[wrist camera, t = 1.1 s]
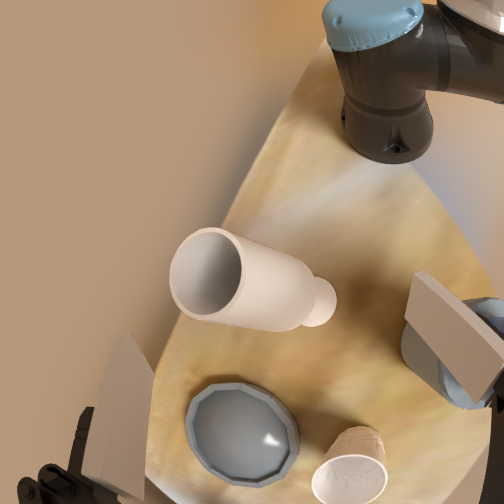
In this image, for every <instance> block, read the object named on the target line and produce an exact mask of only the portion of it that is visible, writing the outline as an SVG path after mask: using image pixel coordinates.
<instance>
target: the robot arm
mask: <svg viewBox="0 0 504 504" xmlns="http://www.w3.org/2000/svg"><path fill="white" fill-rule="evenodd" d="M322 20H323V23H324V27H325V31H326V34H327V42H328V44H329V45H330V47H331V49H332V52H333V55H334V58H335V61H336V64H337V67H338V70H339V73H340V77H341V80H342V84H343V87H344V91H345V96H344V102H343V107H342V112H341V123H342V127H343V131H344V134H345V137H346V139H347V141H348V142H349V144H350V145H351V146H352V147H353V148H354V149H355V150H356V151H357V152H358V153H360V154H361V155H363V156H365V157H367V158H369V159H371V160H374V161H377V162H380V163H386V164H402V163H407V162H410V161H413V160H415V159H417V158H419V157H420V156H422V155H423V154H424V153H425V152H426V151H427V149H428V148H429V146H430V144H431V141H432V135H433V120H432V117H431V114H430V111H429V107H428V104H427V102H426V99H425V90H432V91H433V90H434V91H442V92H448V93H455V94H460V95H466V96H471V97H476V98H481V99H485V100H489V101H493V102H495V103H497V104H504V0H437V5H431V4H423V3H422V2H421V1H420V0H330V1H329V2H328V3H327V4H326V5H325V7H324V9H323V12H322ZM404 318H405V319H406V320H407V321H408V322H409V324H410V325H411V326H412V327H413V328H414V329H415V330H416V332H417V333H418V334H419V335H420V336H421V337H422V338H423V340H424V341H425V342H426V343H427V344H428V346H429V347H430V348H431V349H432V350H433V351H434V353H435V354H436V355H437V356H438V357H439V359H440V360H441V361H442V362H443V364H444V365H445V366H446V367H447V369H448V370H449V371H450V372H451V374H452V375H453V376H454V377H455V379H456V380H457V381H458V383H459V384H460V385H461V386H462V388H463V389H464V390H465V392H466V393H467V394H468V396H469V397H470V398H471V400H472V401H473V402H474V404H475V405H476V404H477V403H478V402H479V401H481V400H482V399H483V398H484V397H486V395H487V394H488V393H489V391H490V390H491V388H493V389H494V391H493V393H492V394H491V395H490V397H489V398H488V399H487V401H486V402H485V405H484V407H487V405H488V404H489V403H490V402H491V400H492V402H491V403H490V405H489V407H492V419H491V436H490V447H489V455H488V462H487V468H486V474H485V479H484V484H483V489H482V493H481V497H480V501H479V504H504V334H503V333H502V332H501V331H500V330H498V328H497V327H496V326H495V325H492V323H491V322H490V321H489V320H488V319H487V318H486V317H484V316H483V315H481V314H479V313H477V312H476V313H474V312H473V311H472V310H471V309H470V308H469V307H467V306H466V305H465V304H464V303H463V302H462V301H461V300H460V299H458V298H457V297H456V296H455V295H454V294H453V293H451V292H450V291H449V290H448V289H447V288H445V287H444V286H443V285H442V284H441V283H439V282H438V281H437V280H436V279H435V278H433V277H432V276H431V275H430V274H428V273H427V272H426V271H425V270H423V271H420V272H416V273H413V277H412V283H411V288H410V293H409V298H408V303H407V307H406V311H405V316H404ZM153 381H154V373H153V371H152V370H151V368H150V366H149V365H148V363H147V361H146V359H145V357H144V355H143V354H142V352H141V350H140V348H139V346H138V344H137V342H136V340H135V338H134V336H133V334H123V335H117V337H116V339H115V342H114V345H113V348H112V352H111V354H110V358H109V361H108V363H107V367H106V370H105V373H104V377H103V380H102V383H101V387H100V390H99V394H98V398H97V401H96V405H95V407H86V408H85V410H84V411H83V413H82V414H81V416H80V418H79V421H78V425H77V430H76V433H75V439H74V441H73V446H72V450H71V455H70V460H69V465H68V469H67V471H65V470H63V469H62V468H61V467H59V466H58V465H56V464H51V463H50V464H47V465H44V466H43V467H42V468H41V469H40V471H39V473H38V482H36V481H35V480H33V479H32V478H30V477H24V478H22V479H21V480H20V481H19V483H18V486H17V493H18V499H19V504H121V503H120V502H119V501H118V500H117V496H118V495H120V496H122V497H124V498H126V499H134V500H142V501H143V500H144V477H145V459H146V444H147V433H148V422H149V413H150V404H151V396H152V388H153Z"/></svg>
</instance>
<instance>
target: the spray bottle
mask: <svg viewBox="0 0 504 504" xmlns="http://www.w3.org/2000/svg"><path fill="white" fill-rule="evenodd" d="M462 302H463V303H464V304H465V305H466V306H467V307H469V308H470V309H471V310H472V311H473V312H474V313H476V312H477V313H479V314H481V315H483V316H484V317H486V318H487V319H488V320H489V321H490V322H491V323H492V325H495V326H496V327H497V328H498V330H500V331H501V332H502V333H503V334H504V300H500V299H499V298H491V297H483V298H477V299H470V300H463V301H462ZM401 353H402V357H403V359H404V361H405V363H406V365H407V366H408V367H409V368H410V369H411V370H412V371H413V372H414V373H415V374H417V375H418V376H419V377H420V378H421V379H422V380H424V381H425V382H426V383H427V384H428V385H430V386H431V387H432V388H433V389H434V390H435V391H437V392H438V393H439V394H440V395H441V396H442V397H444V398H445V399H446V400H447V401H448V402H449V403H451V404H452V405H454V406H457V407H460V408H462V409H468V410H472V409H481V408H484V405H485V402H486V401H487V399H488V398H489V397H490V395H491V394H492V393H493V391H494V389H493V388H491V390H490V391H489V393H488V394H487V395H486V397H484V398H483V399H482V400H481V401H479V402H478V403H477V404H476V405H475V404H474V402H473V401H472V400H471V398H470V397H469V396H468V394H467V393H466V392H465V390H464V389H463V388H462V386H461V385H460V384H459V383H458V381H457V380H456V379H455V377H454V376H453V375H452V374H451V372H450V371H449V370H448V369H447V367H446V366H445V365H444V364H443V362H442V361H441V360H440V359H439V357H438V356H437V355H436V354H435V353H434V351H433V350H432V349H431V348H430V347H429V346H428V344H427V343H426V342H425V341H424V340H423V338H422V337H421V336H420V335H419V334H418V333H417V332H416V330H415V329H414V328H413V327H412V326H411V325H410V324H409V322H407V324H406V326H405V328H404V330H403V333H402V339H401ZM491 402H492V400H491ZM491 402H490V403H491ZM490 403H489V404H488V405H490ZM488 405H487V406H488Z"/></svg>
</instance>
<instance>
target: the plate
mask: <svg viewBox="0 0 504 504" xmlns="http://www.w3.org/2000/svg"><path fill="white" fill-rule="evenodd" d="M185 422H186V423H185V428H186V433H187V437H188V442H189V446H190V447H192V448H190V449H191V450H192V452H193V453H194V454H195V456H196V457H197V458H198V460H199V461H200V462H201V464H202V465H203V466H204V468H205V469H206V470H207V469H208V470H207V471H209V472H210V473H212V474H213V475H215V476H217V477H218V478H220V479H222V480H224V481H225V482H227V483H229V484H232V485H236V486H244V487H254V488H261V487H264V486H266V485H269V484H271V483H273V482H276V481H278V480H280V479H282V478H284V477H285V476H286V475H287V473H288V472H289V470H290V468H291V467H292V465H293V463H294V462H295V460H296V458H297V456H298V454H299V448H300V435H299V430H298V427H297V424H296V421H295V419H294V417H293V416H292V414H291V412H290V411H289V410H288V408H287V407H286V406H285V405H284V404H283V403H282V401H281V400H279V399H278V398H277V397H276V396H275V395H273V394H272V393H270V392H269V391H267V390H265V389H263V388H261V387H259V386H256V385H254V384H250V383H246V382H225V383H214V384H211V385H210V386H208V387H207V388H206V389H204V390H203V391H202V392H200V393H199V394H198V395H197V396H195V397H194V398H193V399H192V400H191V403H190V406H189V409H188V412H187V415H186V419H185Z"/></svg>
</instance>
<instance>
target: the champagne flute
mask: <svg viewBox="0 0 504 504" xmlns="http://www.w3.org/2000/svg"><path fill="white" fill-rule="evenodd" d="M169 283H170V289H171V293H172V296H173V299H174V301H175V303H176V304H177V306H178V307H179V308H180V309H181V310H182V311H183V312H184V313H185V314H186V315H188V316H190V317H192V318H195V319H197V320H203V321H208V322H214V323H219V324H225V325H231V326H237V327H244V328H250V329H257V330H264V331H272V332H284V331H289V330H292V329H294V328H296V327H298V326H299V325H301V324H302V325H304V326H308V327H314V326H319V325H321V324H324V323H325V322H327V321H328V320H329V319H330V318H331V316H332V315H333V314H334V311H335V309H336V305H337V297H336V293H335V290H334V288H333V287H332V285H331V284H330V283H329V282H328V281H327V280H325V279H323V278H321V277H316V276H313V274H312V272H311V270H310V269H309V267H308V266H307V265H306V264H305V263H304V262H302V261H301V260H299V259H298V258H295V257H293V256H290V255H288V254H285V253H283V252H280V251H278V250H275V249H272V248H270V247H267V246H265V245H262V244H260V243H257V242H254V241H252V240H249V239H247V238H244V237H241V236H239V235H236V234H234V233H231V232H228V231H226V230H223V229H220V228H214V227H210V228H203V229H201V230H198V231H196V232H194V233H192V234H191V235H190V236H188V237H187V238H186V239H185V240H184V241H183V242H182V243H181V245H180V246H179V248H178V249H177V251H176V253H175V255H174V257H173V260H172V263H171V267H170V275H169Z"/></svg>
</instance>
